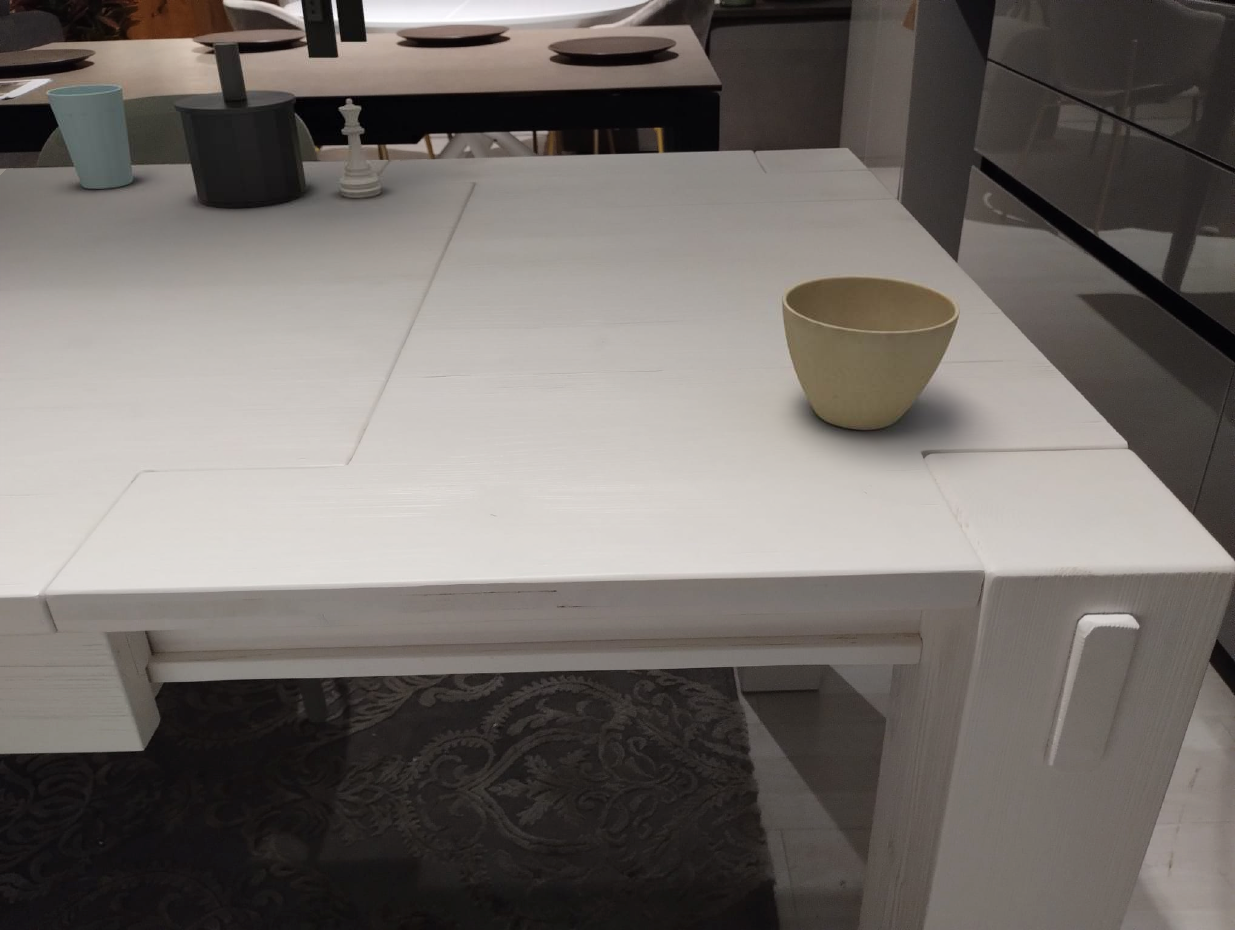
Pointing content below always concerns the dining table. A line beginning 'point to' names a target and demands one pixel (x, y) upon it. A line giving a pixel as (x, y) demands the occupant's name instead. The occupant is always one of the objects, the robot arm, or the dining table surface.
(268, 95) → the pot lid
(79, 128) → the cup
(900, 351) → the flower pot
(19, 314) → the dining table surface
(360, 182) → the chess piece
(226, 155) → the pot
